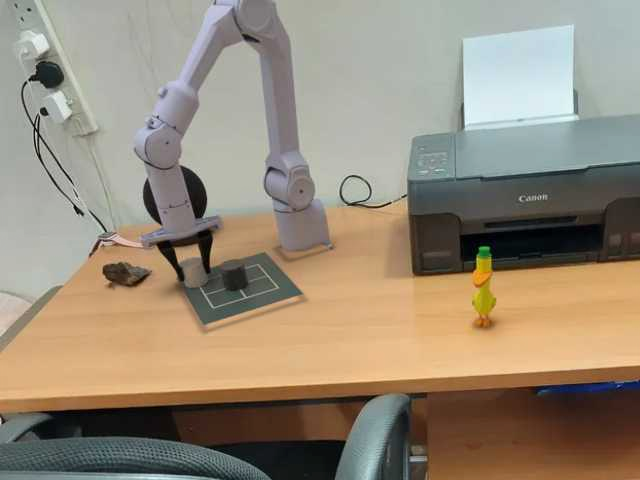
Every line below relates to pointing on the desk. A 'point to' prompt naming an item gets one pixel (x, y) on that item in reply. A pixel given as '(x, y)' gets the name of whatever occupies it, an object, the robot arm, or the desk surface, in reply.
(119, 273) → the rock sample
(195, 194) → the black ball on stand
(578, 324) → the desk surface
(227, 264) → the dark grey cylinder
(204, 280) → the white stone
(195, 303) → the game board
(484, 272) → the toy figure
